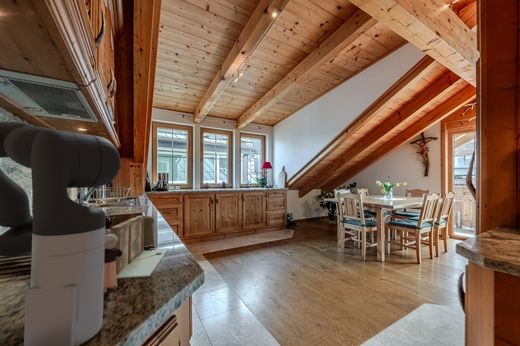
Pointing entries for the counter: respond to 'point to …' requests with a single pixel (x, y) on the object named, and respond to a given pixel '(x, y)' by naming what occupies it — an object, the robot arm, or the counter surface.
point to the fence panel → (135, 237)
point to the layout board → (143, 264)
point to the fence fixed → (121, 244)
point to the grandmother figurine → (111, 262)
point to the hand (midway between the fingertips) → (136, 235)
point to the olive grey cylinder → (148, 231)
